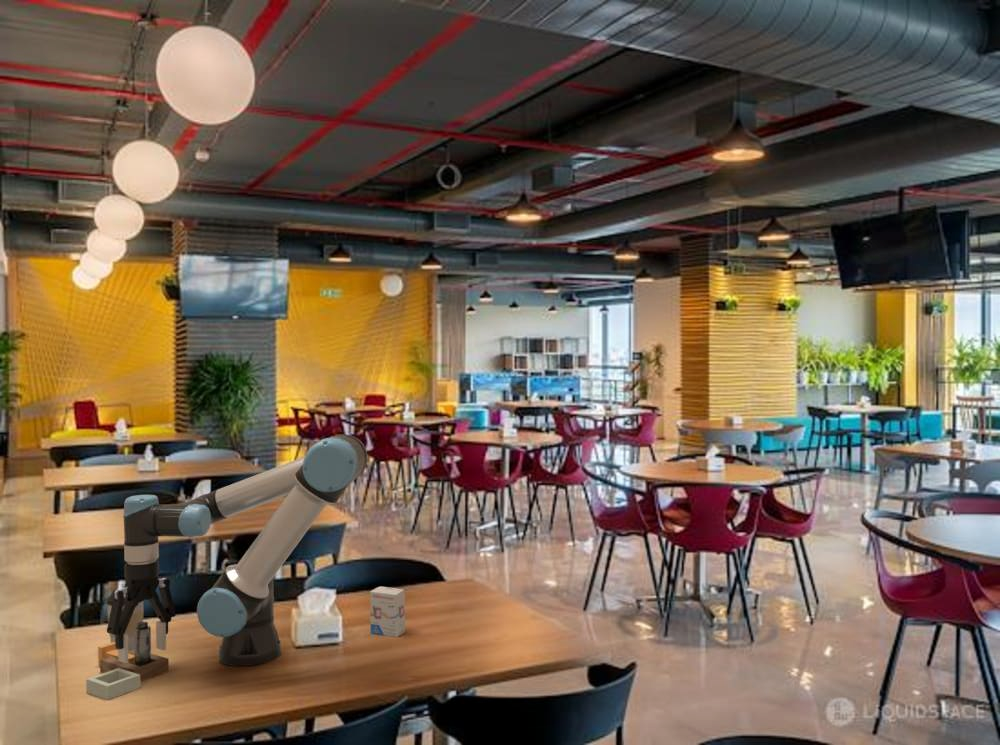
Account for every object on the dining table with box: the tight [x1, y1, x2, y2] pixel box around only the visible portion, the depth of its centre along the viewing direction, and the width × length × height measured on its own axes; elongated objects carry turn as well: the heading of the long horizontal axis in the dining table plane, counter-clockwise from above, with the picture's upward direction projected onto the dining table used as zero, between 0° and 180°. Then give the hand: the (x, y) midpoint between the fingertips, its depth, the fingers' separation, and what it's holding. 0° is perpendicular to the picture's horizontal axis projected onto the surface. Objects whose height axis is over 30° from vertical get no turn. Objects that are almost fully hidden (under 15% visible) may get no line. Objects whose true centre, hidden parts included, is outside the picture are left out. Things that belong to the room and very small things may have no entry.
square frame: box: [85, 668, 141, 701], centre depth 190 cm, size 8×8×3 cm
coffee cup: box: [105, 593, 145, 650], centre depth 217 cm, size 9×9×15 cm
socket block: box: [99, 649, 170, 682], centre depth 201 cm, size 14×9×3 cm, turn 58°
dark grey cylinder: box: [134, 621, 152, 666], centre depth 199 cm, size 4×4×12 cm
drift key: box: [97, 642, 135, 666], centre depth 204 cm, size 10×4×4 cm, turn 58°
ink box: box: [369, 586, 406, 638], centre depth 229 cm, size 9×5×12 cm, turn 68°
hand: (142, 655), depth 199 cm, fingers open, 9 cm apart
